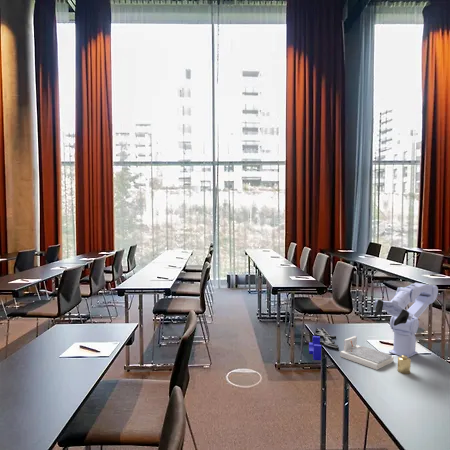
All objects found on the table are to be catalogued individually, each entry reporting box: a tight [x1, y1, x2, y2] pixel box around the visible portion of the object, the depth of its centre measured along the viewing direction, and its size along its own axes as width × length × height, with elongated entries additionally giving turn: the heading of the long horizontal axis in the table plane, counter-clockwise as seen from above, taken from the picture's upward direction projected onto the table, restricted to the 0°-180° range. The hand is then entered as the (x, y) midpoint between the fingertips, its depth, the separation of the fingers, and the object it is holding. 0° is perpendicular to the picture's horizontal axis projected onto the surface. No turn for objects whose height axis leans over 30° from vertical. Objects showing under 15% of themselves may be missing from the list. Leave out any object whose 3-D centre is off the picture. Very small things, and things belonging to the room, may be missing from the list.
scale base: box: [339, 335, 394, 370], centre depth 153 cm, size 13×16×6 cm
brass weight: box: [396, 355, 412, 375], centre depth 142 cm, size 4×4×6 cm
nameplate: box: [313, 327, 340, 351], centre depth 176 cm, size 27×2×10 cm
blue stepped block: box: [308, 335, 323, 361], centre depth 157 cm, size 12×4×6 cm, turn 169°
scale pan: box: [349, 345, 392, 363], centre depth 152 cm, size 10×13×1 cm
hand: (384, 319), depth 145 cm, fingers open, 7 cm apart
